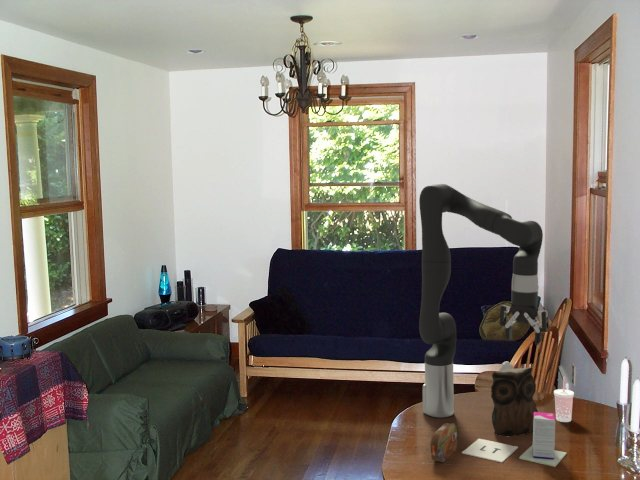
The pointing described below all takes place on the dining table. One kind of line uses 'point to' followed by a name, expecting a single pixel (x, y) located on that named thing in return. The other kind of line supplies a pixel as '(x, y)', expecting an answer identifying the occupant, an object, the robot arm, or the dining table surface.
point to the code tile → (490, 450)
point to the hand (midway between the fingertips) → (523, 342)
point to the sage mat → (557, 458)
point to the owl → (513, 401)
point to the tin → (444, 442)
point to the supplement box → (543, 435)
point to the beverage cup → (563, 403)
